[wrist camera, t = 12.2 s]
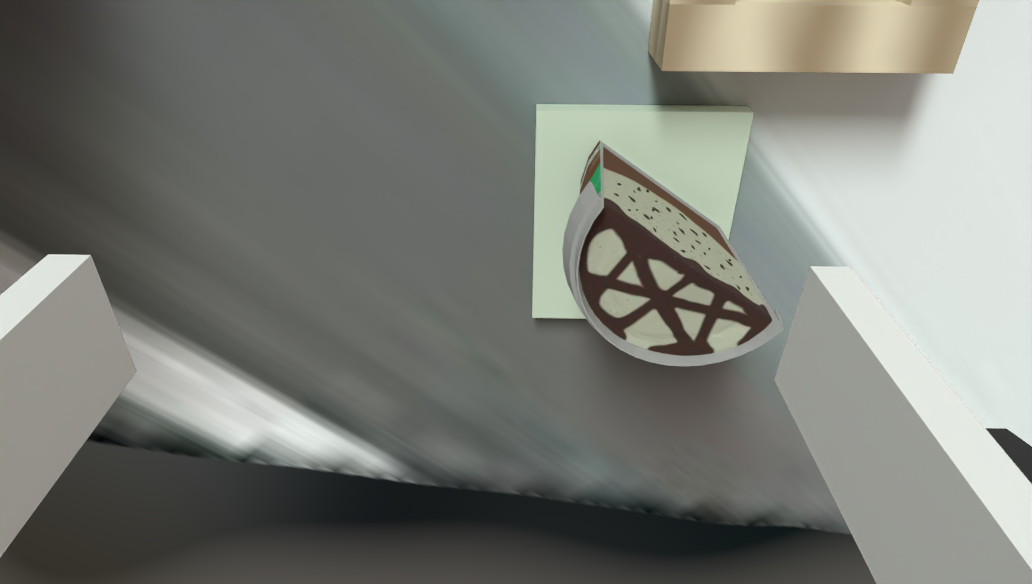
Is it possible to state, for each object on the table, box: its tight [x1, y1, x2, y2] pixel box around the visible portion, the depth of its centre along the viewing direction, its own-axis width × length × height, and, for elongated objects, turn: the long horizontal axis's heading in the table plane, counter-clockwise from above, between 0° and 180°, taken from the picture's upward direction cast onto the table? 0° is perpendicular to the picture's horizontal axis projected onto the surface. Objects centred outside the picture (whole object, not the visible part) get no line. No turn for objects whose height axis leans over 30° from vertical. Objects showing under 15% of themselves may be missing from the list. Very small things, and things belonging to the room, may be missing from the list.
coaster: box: [532, 104, 754, 319], centre depth 40 cm, size 12×14×1 cm
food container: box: [562, 140, 783, 366], centre depth 36 cm, size 12×6×10 cm, turn 55°
